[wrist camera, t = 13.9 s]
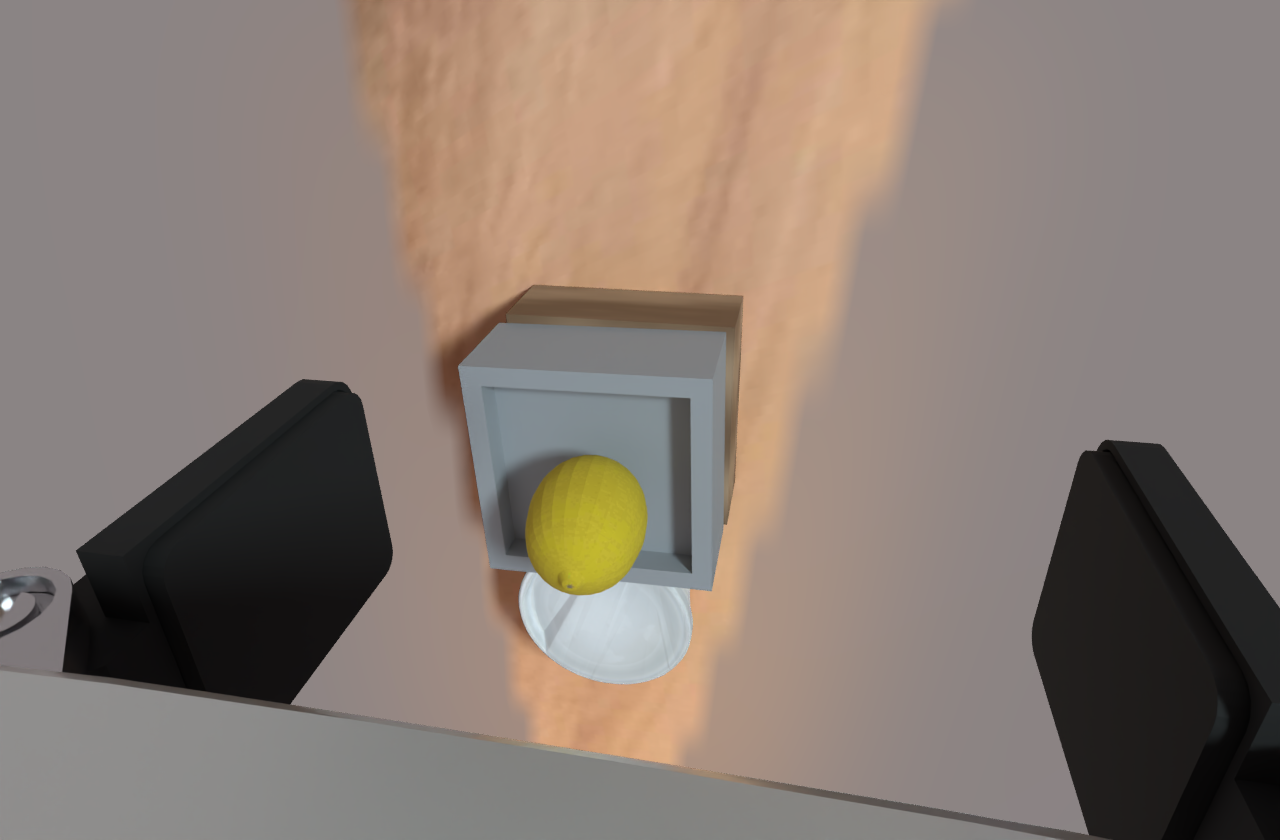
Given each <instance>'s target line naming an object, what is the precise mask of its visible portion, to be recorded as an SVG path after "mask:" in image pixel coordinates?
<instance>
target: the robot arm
mask: <svg viewBox="0 0 1280 840" xmlns="http://www.w3.org/2000/svg"><path fill="white" fill-rule="evenodd" d="M76 552H77V554H78V557H79V559H80V561H81V563H82V566H83V568H84V570H85V572H86V575H85V576H84V577H82V578H81V579H80V580H79V581H78V582H76V583H75V584H74V585H73V583H72V581H71V578H70V577H69V576H68V575H66V574H65V573H64V572H62V571H61V570H57V569H53V568H48V567H32V568H31V567H30V568H21V569H16V570H11V571H5V572H1V573H0V840H1280V608H1279V606H1278V605H1277V604H1276V602H1275V601H1274V600H1273V598H1272V597H1271V595H1270V594H1269V593H1268V591H1267V590H1266V588H1265V587H1264V586H1263V584H1262V583H1261V581H1260V580H1259V579H1258V577H1257V576H1256V575H1255V573H1254V572H1253V571H1252V569H1251V568H1250V566H1249V565H1248V564H1247V562H1246V561H1245V559H1244V558H1243V557H1242V555H1241V554H1240V552H1239V551H1238V550H1237V548H1236V547H1235V545H1234V544H1233V543H1232V541H1231V540H1230V539H1229V537H1228V536H1227V534H1226V533H1225V532H1224V530H1223V529H1222V527H1221V526H1220V524H1219V523H1218V522H1217V520H1216V519H1215V518H1214V516H1213V515H1212V513H1211V512H1210V511H1209V509H1208V508H1207V506H1206V505H1205V504H1204V502H1203V501H1202V499H1201V498H1200V497H1199V495H1198V494H1197V492H1196V491H1195V490H1194V488H1193V487H1192V486H1191V484H1190V483H1189V481H1188V480H1187V479H1186V477H1185V476H1184V474H1183V473H1182V471H1181V470H1180V469H1179V467H1178V466H1177V464H1176V463H1175V462H1174V460H1173V459H1172V458H1171V456H1170V455H1169V453H1168V452H1167V451H1166V449H1165V448H1164V447H1163V446H1162V445H1161V444H1153V443H1140V442H1127V441H1113V440H1105V441H1104V442H1102V443H1101V445H1100V446H1099V447H1098V449H1097V451H1085V452H1083V453H1082V455H1081V456H1080V459H1079V461H1078V464H1077V468H1076V471H1075V475H1074V479H1073V482H1072V486H1071V490H1070V493H1069V497H1068V500H1067V504H1066V507H1065V511H1064V514H1063V518H1062V521H1061V525H1060V529H1059V532H1058V536H1057V539H1056V543H1055V546H1054V550H1053V554H1052V557H1051V561H1050V564H1049V568H1048V572H1047V575H1046V579H1045V582H1044V586H1043V590H1042V593H1041V596H1040V600H1039V604H1038V607H1037V611H1036V614H1035V618H1034V622H1033V627H1032V646H1033V652H1034V656H1035V659H1036V662H1037V666H1038V669H1039V672H1040V676H1041V679H1042V682H1043V685H1044V689H1045V692H1046V695H1047V698H1048V702H1049V705H1050V708H1051V711H1052V715H1053V718H1054V721H1055V725H1056V728H1057V731H1058V734H1059V738H1060V741H1061V744H1062V748H1063V751H1064V754H1065V758H1066V761H1067V764H1068V767H1069V771H1070V774H1071V777H1072V781H1073V784H1074V787H1075V790H1076V793H1077V797H1078V800H1079V804H1080V807H1081V810H1082V813H1083V817H1084V820H1085V823H1086V827H1087V830H1088V833H1089V835H1085V834H1080V833H1075V832H1070V831H1065V830H1059V829H1053V828H1047V827H1041V826H1035V825H1029V824H1023V823H1017V822H1010V821H1004V820H998V819H993V818H987V817H981V816H976V815H971V814H965V813H959V812H954V811H948V810H943V809H937V808H930V807H925V806H919V805H913V804H907V803H901V802H894V801H888V800H883V799H877V798H870V797H864V796H858V795H852V794H846V793H840V792H834V791H828V790H822V789H816V788H809V787H804V786H797V785H792V784H786V783H780V782H774V781H768V780H762V779H755V778H749V777H743V776H737V775H731V774H725V773H719V772H713V771H707V770H701V769H695V768H689V767H683V766H677V765H670V764H664V763H658V762H652V761H645V760H639V759H633V758H627V757H620V756H614V755H608V754H602V753H596V752H589V751H583V750H577V749H571V748H564V747H558V746H552V745H546V744H539V743H533V742H527V741H520V740H514V739H508V738H502V737H495V736H489V735H483V734H476V733H470V732H464V731H457V730H451V729H445V728H438V727H431V726H426V725H419V724H412V723H407V722H400V721H393V720H387V719H380V718H374V717H368V716H361V715H355V714H348V713H342V712H335V711H328V710H322V709H315V708H309V707H302V706H296V705H290V704H291V702H292V701H293V700H294V698H295V697H296V695H297V694H298V693H299V692H300V690H301V689H302V688H303V686H304V685H305V683H306V682H307V681H308V679H309V678H310V677H311V675H312V674H313V673H314V671H315V670H316V669H317V667H318V666H319V665H320V663H321V662H322V660H323V659H324V658H325V656H326V655H327V654H328V652H329V651H330V650H331V648H332V647H333V646H334V644H335V643H336V642H337V640H338V639H339V638H340V636H341V635H342V633H343V632H344V631H345V629H346V628H347V627H348V625H349V624H350V623H351V621H352V620H353V618H354V617H355V616H356V615H357V613H358V612H359V610H360V609H361V608H362V606H363V605H364V604H365V602H366V601H367V599H368V598H369V597H370V596H371V594H372V593H373V592H374V590H375V589H376V588H377V586H378V585H379V583H380V582H381V581H382V579H383V578H384V577H385V575H386V574H387V572H388V570H389V568H390V565H391V562H392V555H393V550H392V543H391V538H390V533H389V528H388V524H387V519H386V514H385V509H384V505H383V500H382V495H381V490H380V485H379V481H378V476H377V472H376V467H375V462H374V457H373V452H372V447H371V443H370V438H369V433H368V428H367V423H366V419H365V414H364V409H363V405H362V402H361V399H360V398H359V397H358V395H357V394H355V393H352V392H351V390H350V389H349V387H348V386H347V385H346V384H344V383H343V382H333V381H320V380H305V379H302V380H300V381H298V382H297V383H295V384H294V385H293V386H291V387H290V388H289V389H287V390H286V391H285V392H283V393H282V394H281V395H279V396H278V397H277V398H276V399H274V400H273V401H272V402H270V403H269V404H268V405H266V406H265V407H264V408H262V409H261V410H260V411H258V412H257V413H256V414H255V415H253V416H252V417H251V418H249V419H248V420H247V421H245V422H244V423H243V424H241V425H240V426H239V427H238V428H236V429H235V430H234V431H232V432H231V433H230V434H229V435H227V436H226V437H224V438H223V439H222V440H221V441H219V442H218V443H216V444H215V445H214V446H213V447H211V448H210V449H209V450H208V451H206V452H205V453H204V454H202V455H201V456H200V457H198V458H197V459H196V460H194V461H193V462H192V463H190V464H189V465H188V466H186V467H185V468H184V469H182V470H181V471H180V472H178V473H177V474H176V475H175V476H173V477H172V478H171V479H169V480H168V481H167V482H165V483H164V484H163V485H162V486H160V487H159V488H157V489H156V490H155V491H154V492H152V493H151V494H150V495H148V496H147V497H146V498H145V499H143V500H142V501H140V502H139V503H138V504H136V505H135V506H134V507H133V508H131V509H130V510H129V511H127V512H126V513H125V514H123V515H122V516H121V517H119V518H118V519H117V520H115V521H114V522H113V523H112V524H110V525H109V526H108V527H107V528H105V529H104V530H102V531H101V532H100V533H98V534H97V535H96V536H95V537H93V538H92V539H91V540H89V541H88V542H87V543H85V544H84V545H83V546H81V547H80V548H79V549H77V550H76Z"/></svg>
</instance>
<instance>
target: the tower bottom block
mask: <svg viewBox="0 0 1280 840" xmlns="http://www.w3.org/2000/svg"><path fill="white" fill-rule="evenodd" d="M742 316H743V296H737V295H718V294H699V293H680V292H661V291H641V290H622V289H603V288H584V287H565V286H546V285H533V286H532V287H531V288H530V289H529V290H528V291H527V292H526V293H525V295H524V296H523V297H522V298H521V299H520V300H519V301H518V302H517V303H516V304H515V305H514V306H513V307H512V308H511V309H510V310H509V311H508V312H507V313H506V320H507V323H518V324H542V325H567V326H591V327H615V328H640V329H664V330H688V331H713V332H726V378H725V451H724V523H723V524H726V525H727V521H728V516H729V510H730V505H731V499H732V494H733V488H734V483H735V468H736V446H737V424H738V403H739V381H740V359H741V338H742Z"/></svg>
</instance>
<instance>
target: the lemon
mask: <svg viewBox="0 0 1280 840" xmlns="http://www.w3.org/2000/svg"><path fill="white" fill-rule="evenodd" d="M647 520H648V513H647V506H646V501H645V496H644V493H643V490H642V488H641V486H640V484H639V482H638V481H637V479H636V478H635V476H634V475H633V474H632V473H631V472H630V471H629V470H628V469H627V468H626V467H624V466H623V465H622V464H620V463H619V462H617V461H615V460H613V459H610V458H608V457H604V456H599V455H583V456H578V457H573V458H571V459H569V460H566V461H564V462H562V463H560V464H559V465H557V466H556V467H555V468H554V469H552V470H551V471H550V472H549V473H548V474H547V475H546V476H545V477H544V478H543V480H542V481H541V483H540V485H539V486H538V488H537V490H536V491H535V493H534V495H533V497H532V500H531V502H530V506H529V510H528V515H527V520H526V527H525V539H526V547H527V553H528V557H529V559H530V561H531V563H532V565H533V567H534V569H535V571H536V572H537V573H538V574H539V576H540V577H541V578H542V579H543V580H544V581H545V582H546V583H548V584H549V585H550V586H552V587H553V588H555V589H557V590H559V591H561V592H564V593H567V594H571V595H592V594H596V593H600V592H603V591H605V590H607V589H609V588H611V587H613V586H614V585H616V584H617V583H618V582H619V581H620V580H621V579H622V578H623V577H624V576H625V575H626V574H627V573H628V572H629V570H630V569H631V567H632V566H633V564H634V562H635V560H636V558H637V557H638V555H639V553H640V551H641V548H642V546H643V543H644V539H645V534H646V527H647Z"/></svg>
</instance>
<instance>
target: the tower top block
mask: <svg viewBox="0 0 1280 840" xmlns="http://www.w3.org/2000/svg"><path fill="white" fill-rule="evenodd" d="M458 369H459V375H460V381H461V387H462V394H463V400H464V406H465V412H466V419H467V425H468V431H469V437H470V444H471V450H472V456H473V462H474V469H475V475H476V481H477V487H478V494H479V500H480V506H481V513H482V519H483V525H484V531H485V538H486V544H487V550H488V556H489V563H490V568H494V569H503V570H513V571H523V572H532V573H537V572H536V571H535V569H534V567H533V565H532V563H531V561H530V559H529V557H528V553H527V547H526V539H525V527H526V520H527V515H528V510H529V506H530V502H531V500H532V497H533V495H534V493H535V491H536V490H537V488H538V486H539V485H540V483H541V481H542V480H543V478H544V477H545V476H546V475H547V474H548V473H549V472H550V471H551V470H552V469H554V468H555V467H556V466H557V465H559V464H560V463H562V462H564V461H566V460H569V459H571V458H573V457H578V456H583V455H599V456H604V457H608V458H610V459H613V460H615V461H617V462H619V463H620V464H622V465H623V466H624V467H626V468H627V469H628V470H629V471H630V472H631V473H632V474H633V475H634V476H635V478H636V479H637V481H638V482H639V484H640V486H641V488H642V490H643V493H644V496H645V501H646V506H647V513H648V520H647V527H646V534H645V539H644V543H643V546H642V548H641V551H640V553H639V555H638V557H637V558H636V560H635V562H634V564H633V566H632V567H631V569H630V570H629V572H628V573H627V574H626V575H625V576H624V577H623V578H622V579H621V580H620V581H619V582H629V583H638V584H648V585H658V586H667V587H677V588H687V589H696V590H706V591H712V586H713V581H714V575H715V570H716V565H717V559H718V554H719V549H720V544H721V538H722V533H723V523H724V451H725V378H726V332H713V331H688V330H664V329H640V328H615V327H591V326H567V325H542V324H518V323H498V324H497V325H496V326H495V328H494V329H493V330H492V331H491V332H490V333H489V334H488V335H487V336H486V337H485V338H484V339H483V340H482V341H481V342H480V343H479V344H478V345H477V347H476V348H475V349H474V350H473V351H472V352H471V353H470V354H469V355H468V356H467V357H466V358H465V359H464V360H463V361H462V362H461V363H460V364H459V365H458Z"/></svg>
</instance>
